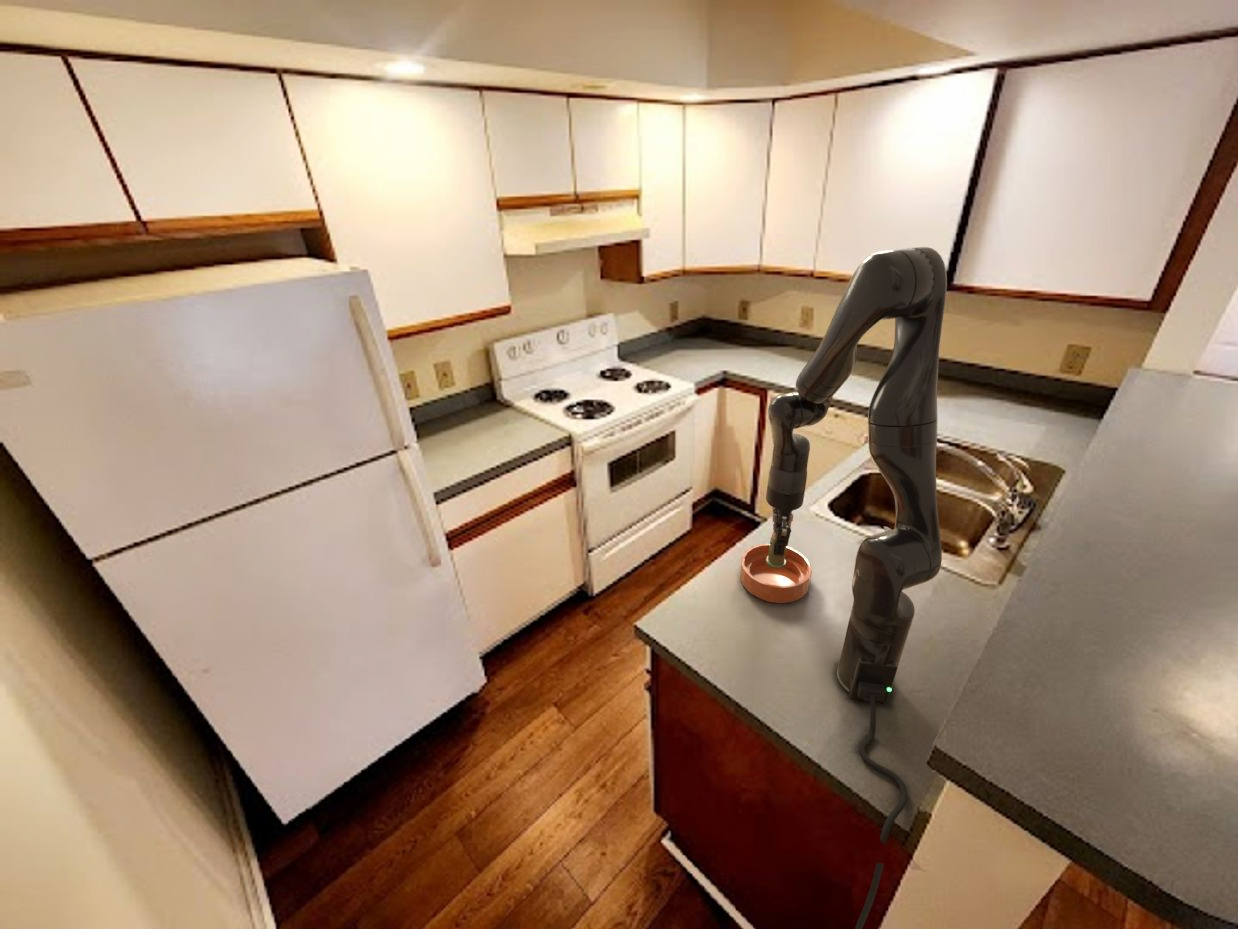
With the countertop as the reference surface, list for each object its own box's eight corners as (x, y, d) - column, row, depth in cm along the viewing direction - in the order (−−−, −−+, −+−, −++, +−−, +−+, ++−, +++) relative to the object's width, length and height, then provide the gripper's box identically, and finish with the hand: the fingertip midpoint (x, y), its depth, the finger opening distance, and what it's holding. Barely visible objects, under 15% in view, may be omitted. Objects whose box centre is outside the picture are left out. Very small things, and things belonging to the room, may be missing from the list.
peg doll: (786, 570, 118) (791, 537, 114) (766, 568, 119) (770, 536, 115) (785, 557, 122) (789, 525, 117) (765, 555, 123) (769, 524, 118)
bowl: (811, 608, 115) (814, 591, 113) (739, 600, 118) (741, 583, 116) (805, 563, 128) (807, 547, 125) (740, 557, 131) (741, 541, 128)
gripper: (766, 464, 117) (759, 528, 125) (769, 500, 105) (761, 567, 113) (802, 467, 115) (792, 531, 124) (809, 503, 103) (798, 571, 112)
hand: (777, 548), depth 118 cm, fingers closed on peg doll, 3 cm apart
